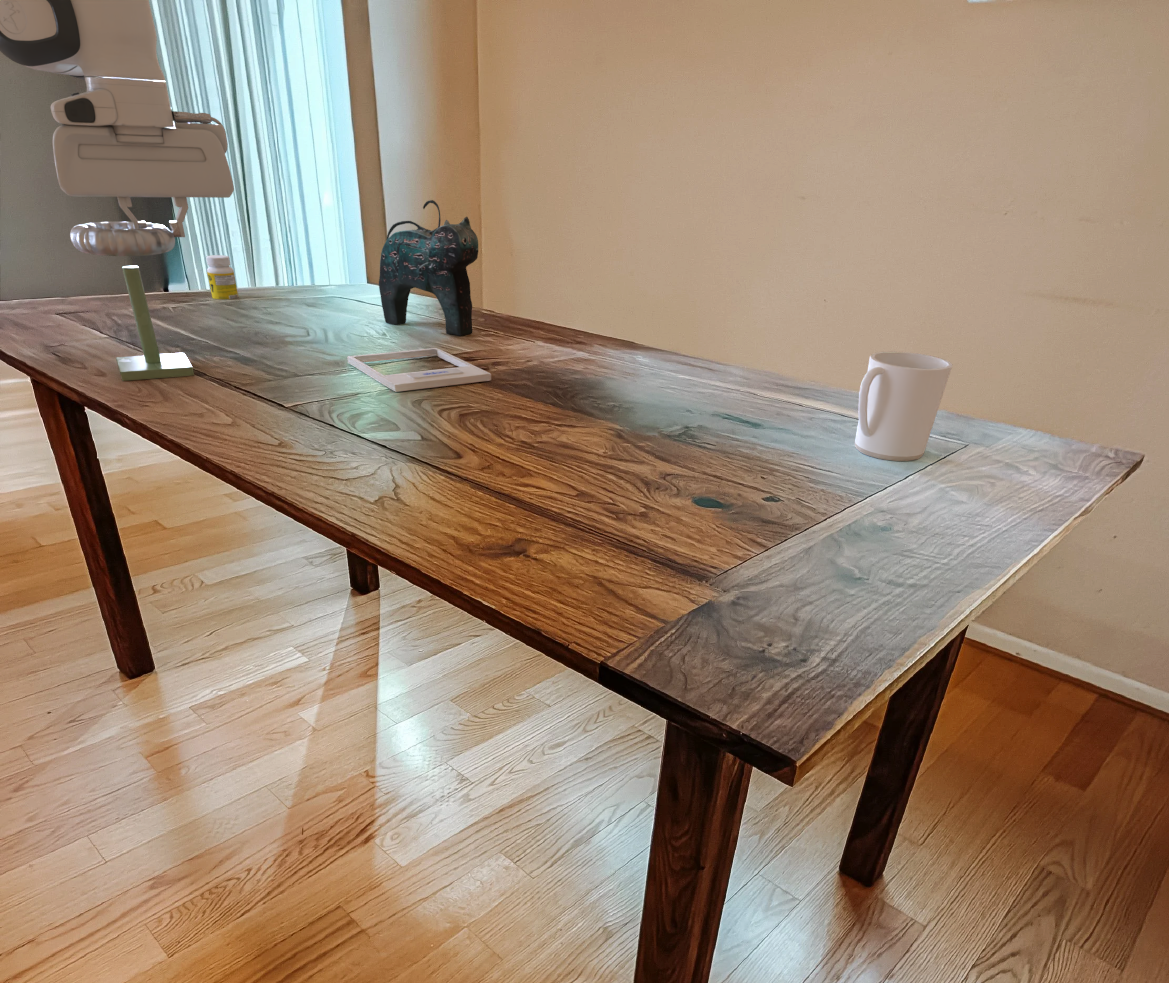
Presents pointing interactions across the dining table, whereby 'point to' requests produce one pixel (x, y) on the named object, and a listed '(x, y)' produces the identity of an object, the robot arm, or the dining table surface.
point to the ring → (121, 239)
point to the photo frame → (421, 378)
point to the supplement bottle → (221, 277)
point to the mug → (899, 404)
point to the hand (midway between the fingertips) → (160, 237)
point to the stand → (148, 340)
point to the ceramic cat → (429, 271)
